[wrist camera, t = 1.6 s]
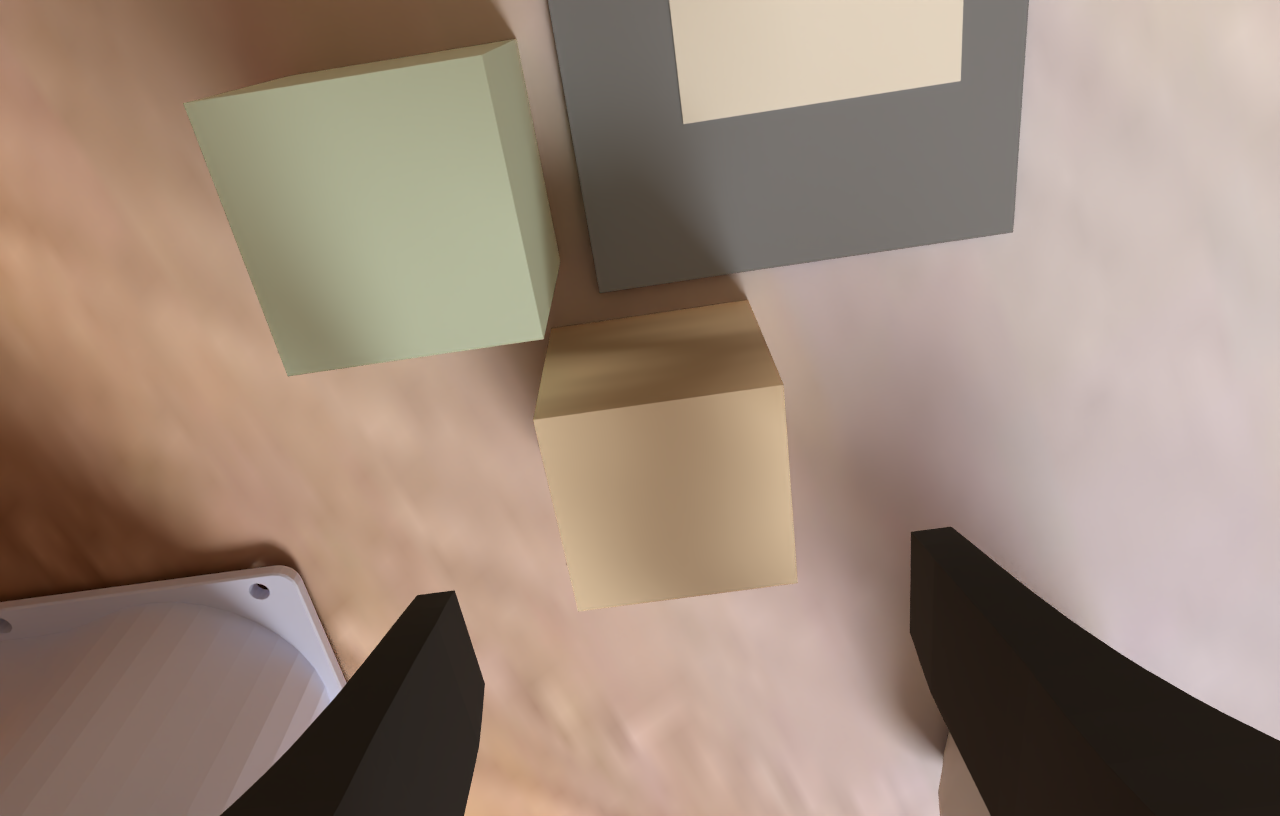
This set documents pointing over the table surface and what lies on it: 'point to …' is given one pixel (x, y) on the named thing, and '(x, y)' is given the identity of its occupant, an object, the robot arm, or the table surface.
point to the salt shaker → (958, 786)
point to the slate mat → (787, 128)
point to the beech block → (667, 456)
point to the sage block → (387, 206)
